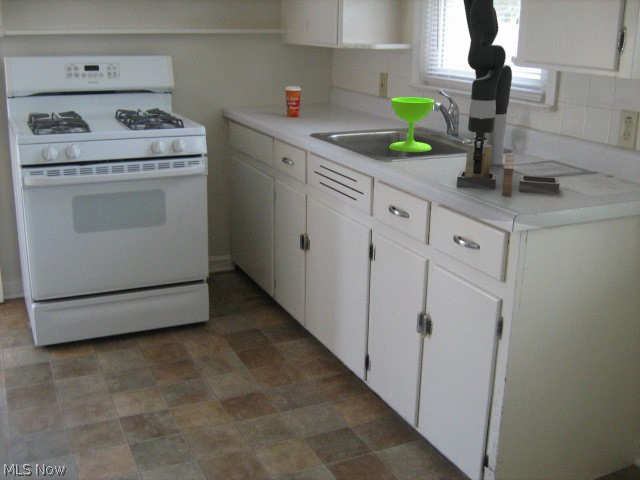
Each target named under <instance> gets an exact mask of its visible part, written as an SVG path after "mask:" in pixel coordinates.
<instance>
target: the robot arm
mask: <svg viewBox="0 0 640 480" xmlns="http://www.w3.org/2000/svg"><path fill="white" fill-rule="evenodd" d="M463 6H464V11H465V19H466V23H467V24H466V25H467V28H468V33H469V38H470V45H469V50H468V54H467V63H468V66H469V67H470V68H471V69H472V70H474V73H475V79H474V80H473V81H472V85H471V94H470V95H471V96H470V97H471V98H470V102H469V103H470V104H469V112H468V123H467V125H468V126H467V130H468V132H471V133H475V136H473V138H472V143H473V154H474V157H473V160H474V168H473V173H474V174H480V173H481V164H482V161H483V158H482V156H483V154H484V152H485V149H484V148H483V147H485V145H491V146H492V154H491V163H490V166H500V165H502V164H503V158H504V147H505V137H506V128H507V127H506V126H507V125H506V124H507V115H508V108H509V104H510V103H509V102H510V94H511V86H512V79H513V70H512V68H511V65H509V64H505V62H506V59H507V58H506V51H505V49H504V47H503V46H502V45H499V44H494V42H495V40H496V38H497V35H498V33H499V22H498V15H497V10H496V8H495V7H494V0H463ZM476 154H481V156H476Z"/></svg>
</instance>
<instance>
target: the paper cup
mask: <svg viewBox="0 0 640 480" xmlns="http://www.w3.org/2000/svg"><path fill="white" fill-rule="evenodd" d="M284 90H285V98H286V99H285V100H286V101H285V102H286V116H287V117H288V118H298V117H299V116H300V105H301V91H302V89H301V87H300V86H297V85H295V86H294V85H292V86H291V85H290V86H286V87H285V89H284Z"/></svg>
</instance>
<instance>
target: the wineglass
mask: <svg viewBox="0 0 640 480" xmlns="http://www.w3.org/2000/svg"><path fill="white" fill-rule="evenodd" d="M390 103H391V107H392V110H393V112H394V113H395V114H396V116H397V117H399V118H400V119H401V120H404V121H406V122H408V134H407V135H408V136H407V139H406V140H405V141H397V142H393V143H391V144H390V145H389V147H388V148H389V149H390V150H394V151H398V152H404V153H406V152H407V153H421V152H427V151H429V152H430V151H431V150H432V146H431V145H430V144H428V143H424V142H420V141H415V139H414V133H415V132H414V131H415V130H414V129H415V123H416V122H419V121H422V120H423V119H425V118H427V116H428V115H429V114H430V113H431V112H432V110H433V107H434V104H435V100H434V99H432V98H431V99H430V98H424V97H393V98H391V100H390Z"/></svg>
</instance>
